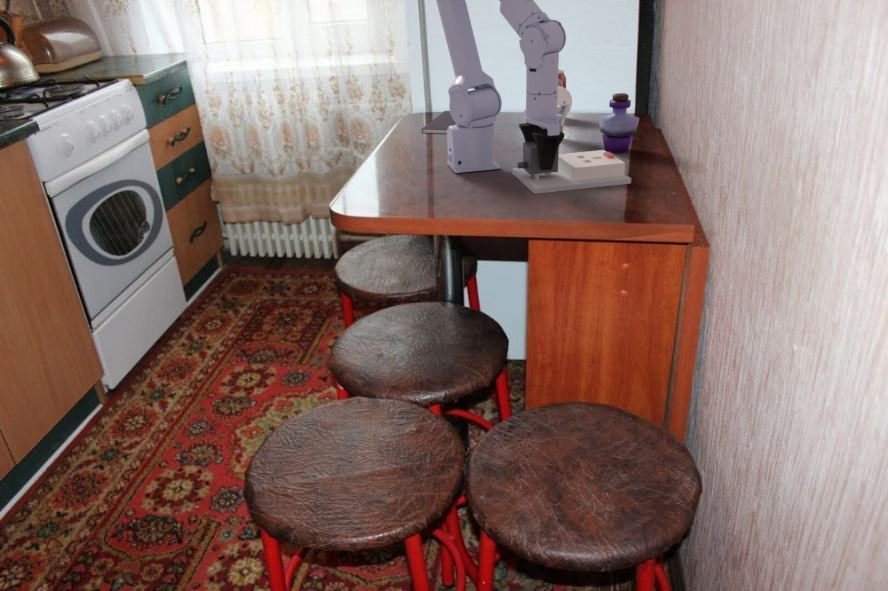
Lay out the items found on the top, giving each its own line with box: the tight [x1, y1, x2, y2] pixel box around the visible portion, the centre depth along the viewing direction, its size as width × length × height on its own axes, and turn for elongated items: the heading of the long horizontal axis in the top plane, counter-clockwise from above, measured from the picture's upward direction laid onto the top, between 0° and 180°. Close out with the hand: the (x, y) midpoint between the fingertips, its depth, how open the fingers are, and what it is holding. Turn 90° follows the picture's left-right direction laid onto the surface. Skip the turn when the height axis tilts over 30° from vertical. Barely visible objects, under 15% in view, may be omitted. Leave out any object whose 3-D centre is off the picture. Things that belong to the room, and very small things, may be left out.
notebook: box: [421, 110, 456, 134], centre depth 186 cm, size 13×2×21 cm
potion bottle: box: [598, 92, 641, 154], centre depth 154 cm, size 9×9×12 cm
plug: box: [517, 141, 560, 180], centre depth 137 cm, size 4×7×6 cm, turn 102°
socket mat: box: [511, 167, 632, 195], centre depth 139 cm, size 19×14×1 cm
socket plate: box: [558, 149, 626, 181], centre depth 139 cm, size 10×10×3 cm
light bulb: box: [557, 86, 573, 133], centre depth 165 cm, size 7×7×12 cm
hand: (540, 164), depth 137 cm, fingers open, 6 cm apart
